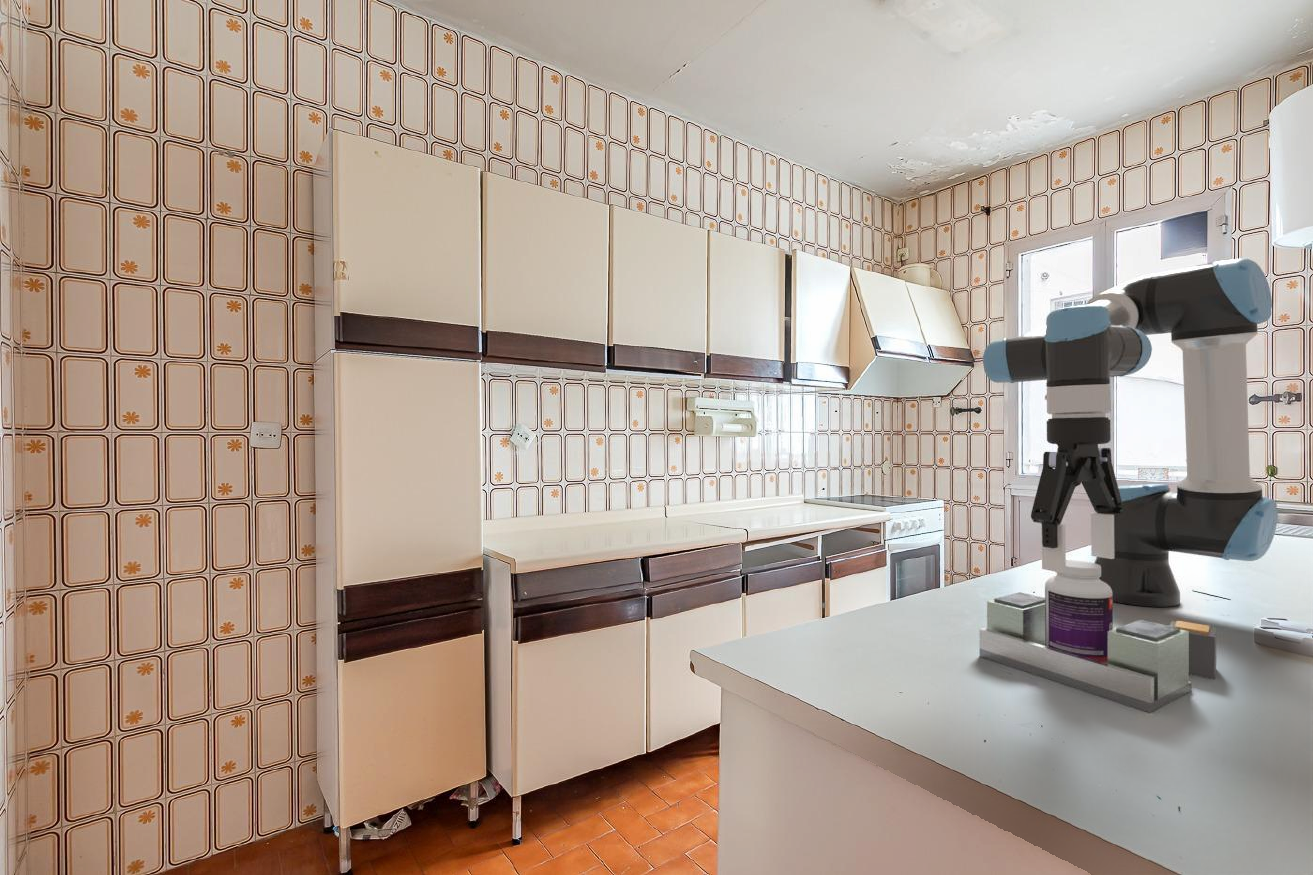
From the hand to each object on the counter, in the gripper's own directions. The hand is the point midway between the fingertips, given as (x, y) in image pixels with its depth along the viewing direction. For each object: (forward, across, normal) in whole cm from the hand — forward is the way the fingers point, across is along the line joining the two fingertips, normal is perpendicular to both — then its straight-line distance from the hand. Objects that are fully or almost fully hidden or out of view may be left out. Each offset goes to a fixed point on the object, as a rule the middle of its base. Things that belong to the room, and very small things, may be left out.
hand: (1079, 563), depth 88 cm
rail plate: (+16, +1, 0) cm, 16 cm away
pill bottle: (+15, 0, 0) cm, 15 cm away
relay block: (+16, -14, +8) cm, 23 cm away
